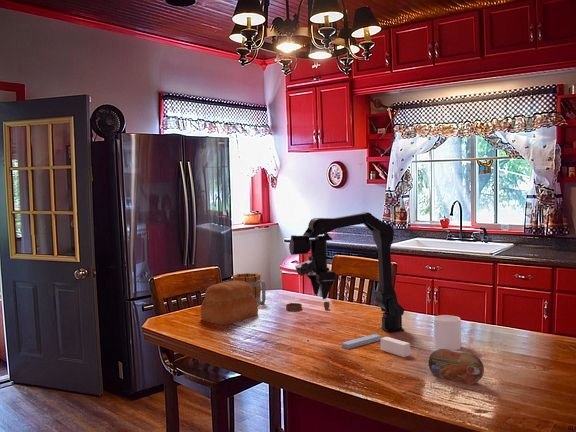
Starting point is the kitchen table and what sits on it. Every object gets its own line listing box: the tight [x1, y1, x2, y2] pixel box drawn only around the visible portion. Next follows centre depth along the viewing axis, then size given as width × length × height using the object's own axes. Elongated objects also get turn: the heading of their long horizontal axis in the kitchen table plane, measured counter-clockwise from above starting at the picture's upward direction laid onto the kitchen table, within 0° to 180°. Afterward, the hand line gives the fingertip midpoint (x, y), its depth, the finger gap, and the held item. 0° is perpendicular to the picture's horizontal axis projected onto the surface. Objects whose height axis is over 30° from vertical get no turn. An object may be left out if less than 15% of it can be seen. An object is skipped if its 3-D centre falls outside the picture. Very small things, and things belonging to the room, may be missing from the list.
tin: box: [428, 349, 485, 386], centre depth 143 cm, size 15×3×8 cm, turn 51°
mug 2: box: [432, 314, 462, 351], centre depth 172 cm, size 9×12×11 cm
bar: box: [341, 333, 382, 350], centre depth 177 cm, size 16×3×3 cm, turn 127°
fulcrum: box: [379, 336, 411, 358], centre depth 166 cm, size 11×12×5 cm
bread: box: [200, 280, 259, 326], centre depth 217 cm, size 18×22×17 cm
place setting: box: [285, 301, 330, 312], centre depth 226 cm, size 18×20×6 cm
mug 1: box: [231, 272, 267, 305], centre depth 244 cm, size 20×14×15 cm
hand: (320, 296), depth 184 cm, fingers open, 9 cm apart
